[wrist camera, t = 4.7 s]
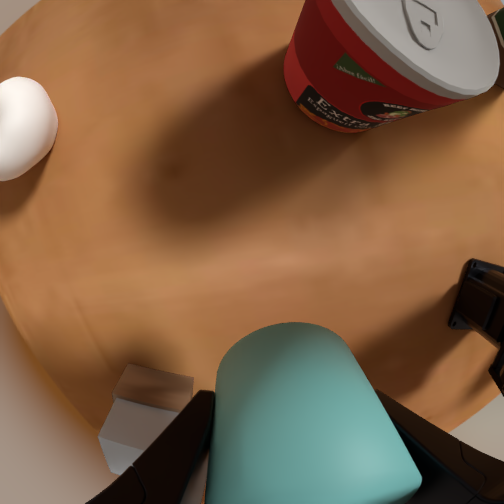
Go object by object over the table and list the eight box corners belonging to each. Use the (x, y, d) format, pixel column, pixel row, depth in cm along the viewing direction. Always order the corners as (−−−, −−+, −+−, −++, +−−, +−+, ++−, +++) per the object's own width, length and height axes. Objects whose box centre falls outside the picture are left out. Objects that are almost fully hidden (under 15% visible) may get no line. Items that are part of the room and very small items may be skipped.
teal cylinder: (368, 323, 8) (460, 443, 3) (334, 422, 9) (370, 531, 4) (219, 316, 8) (198, 481, 3) (214, 422, 9) (205, 546, 4)
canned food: (285, 133, 16) (347, 68, 6) (276, 27, 14) (307, -86, 4) (394, 139, 16) (518, 120, 6) (379, 40, 14) (466, -30, 4)
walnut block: (194, 376, 21) (186, 411, 17) (190, 419, 22) (184, 452, 18) (128, 362, 20) (111, 392, 16) (132, 406, 21) (120, 436, 18)
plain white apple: (86, 90, 15) (16, 57, 7) (61, 185, 16) (-18, 195, 9) (26, 89, 14) (-39, 71, 6) (6, 172, 16) (-64, 179, 8)
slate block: (184, 413, 17) (175, 457, 13) (183, 450, 18) (176, 489, 14) (116, 397, 16) (97, 436, 12) (124, 436, 18) (110, 472, 14)
